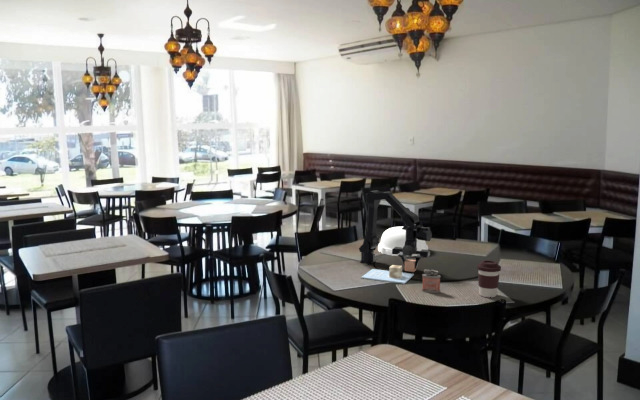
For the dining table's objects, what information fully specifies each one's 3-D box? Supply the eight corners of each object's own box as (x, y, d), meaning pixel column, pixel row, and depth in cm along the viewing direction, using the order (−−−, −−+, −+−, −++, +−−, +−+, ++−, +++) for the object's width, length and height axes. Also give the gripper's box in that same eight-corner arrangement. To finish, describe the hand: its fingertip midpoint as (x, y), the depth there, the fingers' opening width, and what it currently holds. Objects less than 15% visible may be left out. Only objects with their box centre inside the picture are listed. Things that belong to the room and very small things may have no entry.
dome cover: (405, 242, 334) (406, 221, 332) (440, 252, 309) (440, 228, 307) (366, 249, 317) (366, 226, 315) (399, 259, 292) (399, 235, 290)
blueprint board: (361, 278, 256) (361, 276, 256) (372, 270, 271) (372, 268, 271) (404, 283, 247) (404, 282, 247) (413, 275, 261) (414, 273, 261)
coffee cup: (472, 292, 234) (473, 259, 232) (494, 291, 235) (495, 258, 233) (481, 299, 224) (482, 265, 222) (503, 298, 225) (505, 264, 223)
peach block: (404, 270, 269) (404, 261, 268) (407, 268, 273) (407, 259, 273) (414, 271, 267) (414, 262, 266) (416, 269, 271) (416, 260, 271)
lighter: (440, 291, 236) (441, 269, 235) (439, 293, 233) (440, 271, 231) (422, 289, 239) (423, 268, 237) (421, 291, 235) (421, 270, 234)
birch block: (389, 277, 256) (389, 267, 255) (392, 274, 260) (392, 264, 260) (399, 278, 254) (399, 268, 253) (402, 275, 258) (402, 265, 258)
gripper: (388, 240, 265) (388, 270, 267) (425, 243, 257) (424, 274, 259) (395, 236, 275) (395, 264, 277) (430, 239, 267) (429, 268, 269)
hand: (410, 268), depth 270 cm, fingers closed on peach block, 5 cm apart
